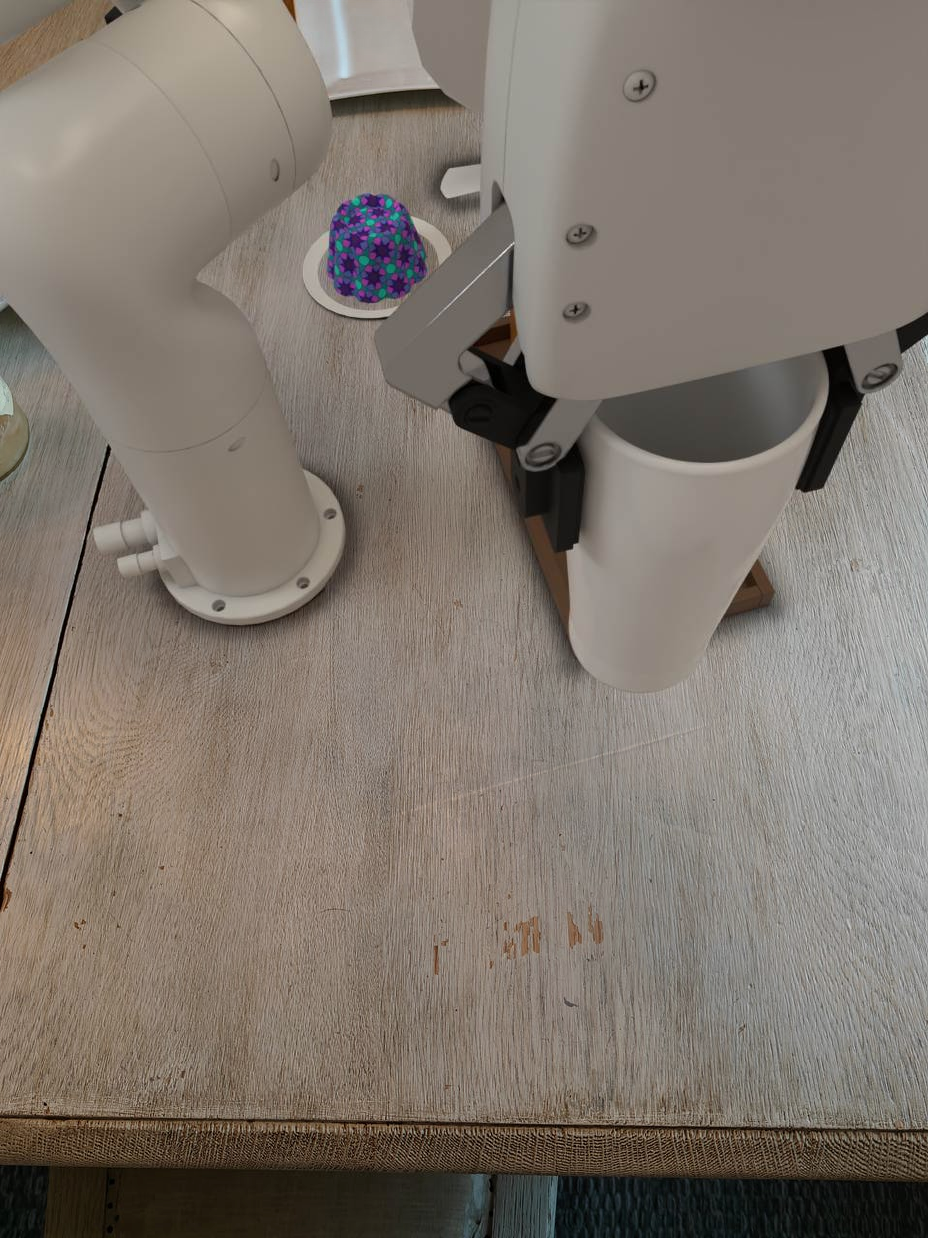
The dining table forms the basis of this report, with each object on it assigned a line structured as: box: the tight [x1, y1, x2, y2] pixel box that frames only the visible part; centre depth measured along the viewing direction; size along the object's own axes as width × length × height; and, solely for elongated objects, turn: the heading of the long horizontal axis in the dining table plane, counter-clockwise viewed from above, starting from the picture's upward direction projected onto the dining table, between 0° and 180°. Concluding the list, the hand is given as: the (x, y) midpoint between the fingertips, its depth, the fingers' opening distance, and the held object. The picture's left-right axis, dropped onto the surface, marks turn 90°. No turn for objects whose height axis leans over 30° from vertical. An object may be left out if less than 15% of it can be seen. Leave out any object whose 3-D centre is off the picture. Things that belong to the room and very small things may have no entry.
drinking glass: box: [566, 350, 829, 694], centre depth 31 cm, size 7×7×15 cm
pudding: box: [302, 193, 453, 319], centre depth 74 cm, size 12×12×5 cm
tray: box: [471, 315, 776, 660], centre depth 65 cm, size 13×28×2 cm, turn 16°
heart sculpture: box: [407, 0, 492, 200], centre depth 73 cm, size 16×5×18 cm, turn 97°
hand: (671, 480), depth 29 cm, fingers closed on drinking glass, 6 cm apart
